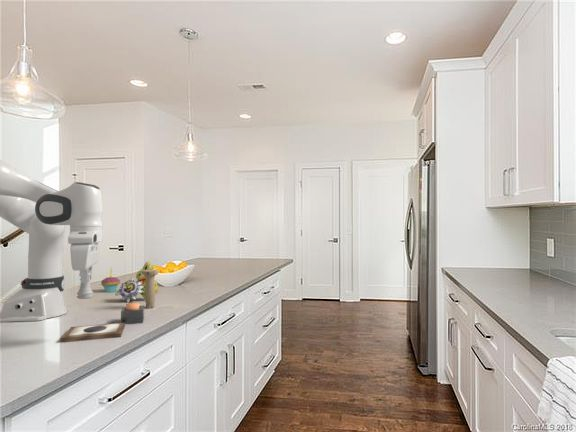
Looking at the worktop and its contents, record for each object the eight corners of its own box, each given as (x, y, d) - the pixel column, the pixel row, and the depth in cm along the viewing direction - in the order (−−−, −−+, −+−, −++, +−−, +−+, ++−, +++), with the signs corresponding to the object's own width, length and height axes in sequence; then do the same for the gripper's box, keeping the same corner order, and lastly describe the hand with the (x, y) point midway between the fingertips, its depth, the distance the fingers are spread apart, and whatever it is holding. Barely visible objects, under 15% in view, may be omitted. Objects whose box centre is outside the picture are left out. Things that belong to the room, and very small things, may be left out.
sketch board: (61, 342, 110) (61, 337, 110) (70, 330, 121) (70, 326, 121) (120, 336, 114) (120, 331, 114) (124, 326, 126) (124, 321, 126)
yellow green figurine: (138, 291, 188) (138, 261, 188) (160, 291, 187) (160, 261, 187) (132, 293, 181) (132, 262, 181) (154, 294, 180) (154, 262, 181)
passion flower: (128, 314, 163) (110, 293, 159) (133, 304, 173) (116, 284, 170) (150, 299, 163) (133, 278, 160) (154, 290, 174) (137, 270, 171)
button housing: (120, 324, 128) (120, 311, 128) (123, 319, 134) (123, 306, 134) (142, 322, 130) (142, 309, 130) (143, 317, 137) (143, 305, 137)
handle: (155, 309, 150) (155, 271, 150) (139, 308, 151) (139, 271, 151) (160, 306, 155) (160, 269, 155) (145, 305, 155) (145, 269, 156)
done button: (125, 314, 129) (125, 305, 130) (126, 311, 134) (126, 303, 134) (139, 313, 131) (139, 305, 131) (139, 310, 135) (139, 302, 135)
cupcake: (102, 290, 190) (102, 266, 190) (121, 289, 193) (121, 265, 193) (99, 293, 182) (99, 268, 182) (118, 292, 185) (118, 268, 185)
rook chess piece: (96, 296, 116) (96, 270, 116) (89, 299, 112) (89, 272, 112) (81, 296, 116) (81, 270, 116) (73, 299, 111) (73, 272, 111)
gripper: (82, 234, 123) (82, 277, 123) (66, 237, 103) (66, 288, 103) (103, 234, 125) (103, 276, 125) (91, 237, 105) (91, 286, 105)
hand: (86, 281), depth 114 cm, fingers closed on rook chess piece, 3 cm apart
